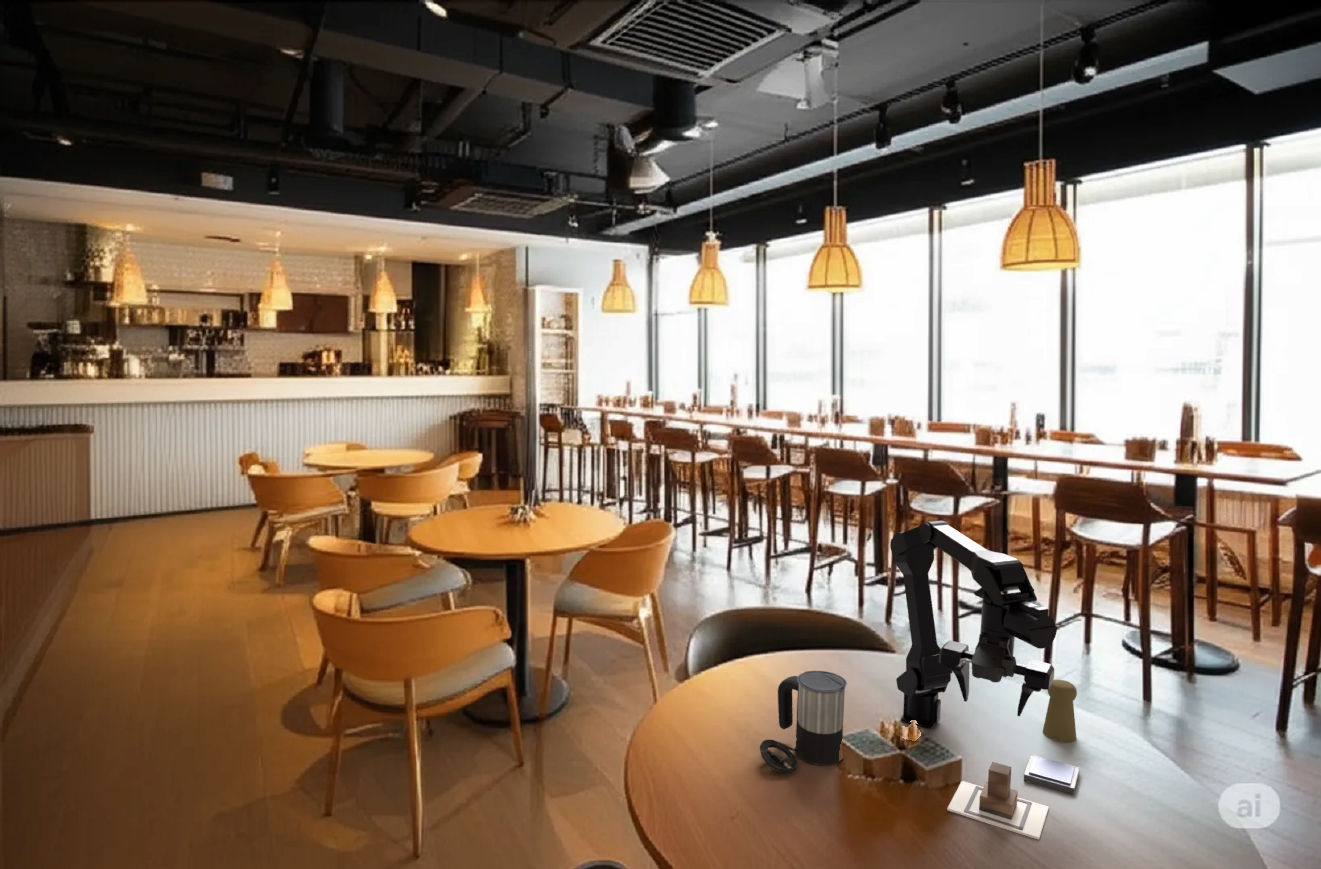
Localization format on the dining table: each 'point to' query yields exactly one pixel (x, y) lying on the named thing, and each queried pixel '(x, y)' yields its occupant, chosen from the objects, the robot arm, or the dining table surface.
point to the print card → (1024, 819)
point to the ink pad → (1052, 774)
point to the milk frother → (810, 720)
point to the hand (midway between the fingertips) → (992, 707)
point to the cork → (1060, 712)
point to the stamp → (998, 792)
